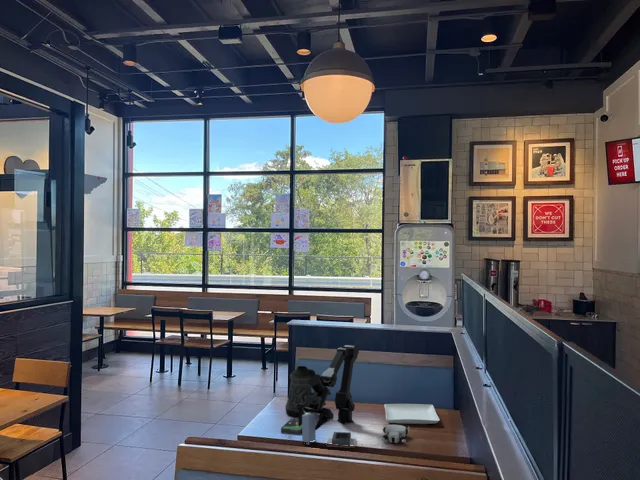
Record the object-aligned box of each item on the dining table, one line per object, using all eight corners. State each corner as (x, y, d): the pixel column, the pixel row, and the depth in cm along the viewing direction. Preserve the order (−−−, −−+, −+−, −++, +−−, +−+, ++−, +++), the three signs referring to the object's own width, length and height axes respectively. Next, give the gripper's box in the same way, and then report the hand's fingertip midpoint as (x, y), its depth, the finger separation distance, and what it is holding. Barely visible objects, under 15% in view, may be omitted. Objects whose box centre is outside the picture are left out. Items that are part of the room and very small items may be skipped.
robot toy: (406, 448, 211) (409, 434, 225) (406, 438, 211) (409, 424, 225) (379, 445, 214) (384, 431, 228) (379, 436, 214) (383, 422, 228)
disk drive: (290, 423, 243) (280, 433, 229) (290, 418, 243) (280, 427, 229) (309, 425, 240) (300, 435, 226) (309, 420, 240) (300, 429, 226)
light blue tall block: (309, 439, 220) (309, 410, 221) (315, 440, 218) (315, 411, 219) (302, 442, 215) (302, 413, 216) (308, 444, 213) (308, 414, 214)
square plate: (432, 410, 262) (432, 403, 262) (440, 427, 235) (440, 419, 235) (384, 409, 265) (383, 402, 265) (386, 426, 238) (385, 418, 238)
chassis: (328, 439, 219) (328, 431, 220) (356, 440, 218) (356, 432, 218) (326, 447, 210) (326, 439, 210) (355, 448, 208) (355, 440, 208)
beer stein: (280, 410, 263) (280, 365, 264) (311, 405, 272) (311, 362, 274) (293, 419, 249) (292, 371, 250) (325, 413, 258) (324, 367, 259)
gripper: (297, 385, 226) (283, 415, 217) (330, 391, 216) (316, 422, 206) (307, 398, 232) (293, 427, 223) (339, 404, 222) (326, 435, 212)
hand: (307, 427), depth 216 cm, fingers open, 9 cm apart
